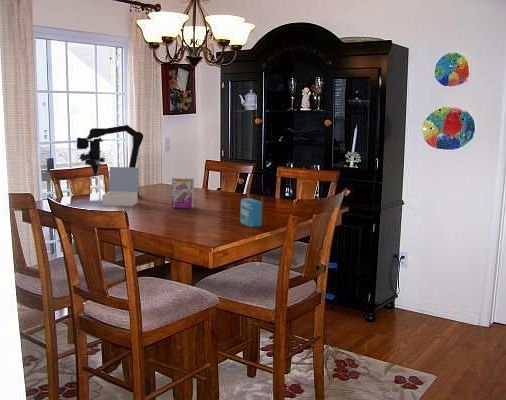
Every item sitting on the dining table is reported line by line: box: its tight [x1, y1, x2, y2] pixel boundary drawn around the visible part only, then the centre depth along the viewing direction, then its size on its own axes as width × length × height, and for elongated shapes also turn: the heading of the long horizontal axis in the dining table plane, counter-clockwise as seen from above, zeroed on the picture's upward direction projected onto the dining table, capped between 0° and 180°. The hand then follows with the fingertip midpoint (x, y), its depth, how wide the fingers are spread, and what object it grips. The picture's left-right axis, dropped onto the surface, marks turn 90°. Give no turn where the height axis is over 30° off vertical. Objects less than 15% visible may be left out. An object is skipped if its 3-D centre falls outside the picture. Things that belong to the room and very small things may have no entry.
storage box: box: [101, 190, 139, 208], centre depth 294 cm, size 14×16×6 cm
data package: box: [239, 197, 263, 228], centre depth 247 cm, size 12×4×12 cm, turn 31°
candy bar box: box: [171, 176, 195, 210], centre depth 287 cm, size 11×5×16 cm, turn 84°
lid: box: [108, 166, 140, 192], centre depth 301 cm, size 14×16×1 cm
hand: (95, 175), depth 316 cm, fingers closed
